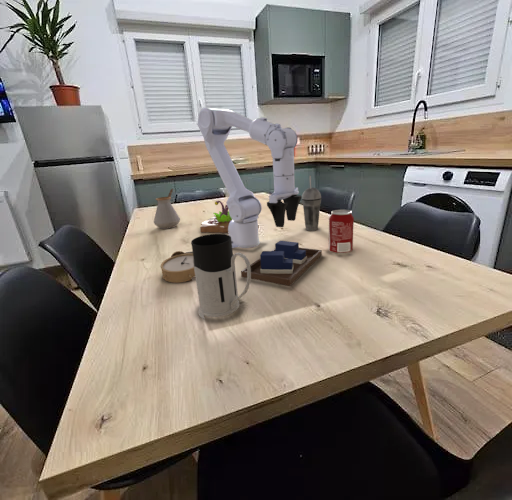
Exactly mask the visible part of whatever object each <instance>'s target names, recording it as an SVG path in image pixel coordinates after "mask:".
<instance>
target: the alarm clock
mask: <svg viewBox="0 0 512 500" xmlns="http://www.w3.org/2000/svg"><path fill="white" fill-rule="evenodd" d="M160 270H161V273H162V277H161V279H163V280H165V281H166V282H168V283H178V284H179V283H186V282H189V281H193V280H192V278H196V277H195V271H194V263H193V251H192V250H191V251H185V252H183V251H182V250H177V251H174V252H173V253H172V254H171V256H170V257H168V258H165V260H163V261H162V262H161V264H160Z"/></svg>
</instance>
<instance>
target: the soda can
mask: <svg viewBox="0 0 512 500" xmlns="http://www.w3.org/2000/svg"><path fill="white" fill-rule="evenodd" d="M354 221H355V218H354V216H353V214H352V210H349V209H335V210H332V211H331V214H330V215H329V217H328V251H329V252H331V253H333V254H348V253H352V252H353V248H354V247H353V245H354V243H353V242H354V224H355V222H354Z"/></svg>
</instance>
